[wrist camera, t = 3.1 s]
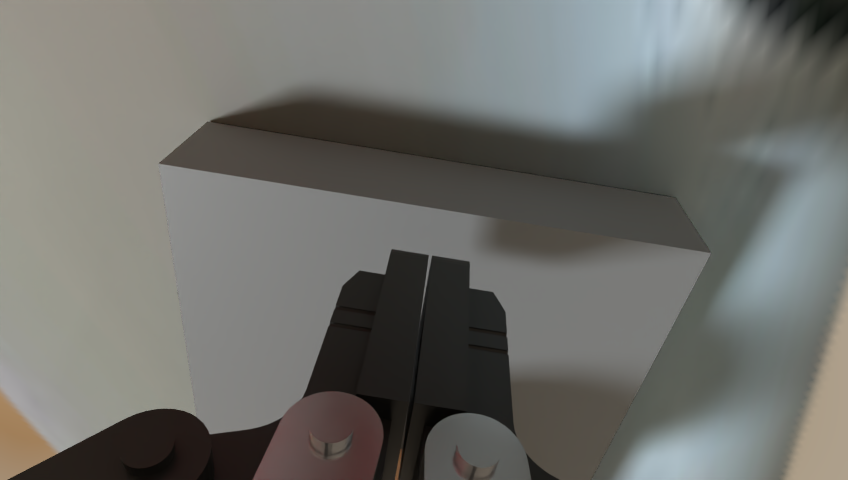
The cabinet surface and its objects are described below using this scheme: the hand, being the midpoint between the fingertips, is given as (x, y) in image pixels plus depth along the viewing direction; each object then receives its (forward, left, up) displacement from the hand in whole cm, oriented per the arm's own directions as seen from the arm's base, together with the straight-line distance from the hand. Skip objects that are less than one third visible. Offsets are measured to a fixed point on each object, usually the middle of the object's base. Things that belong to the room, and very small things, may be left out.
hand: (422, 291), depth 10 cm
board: (+11, 0, -4) cm, 12 cm away
